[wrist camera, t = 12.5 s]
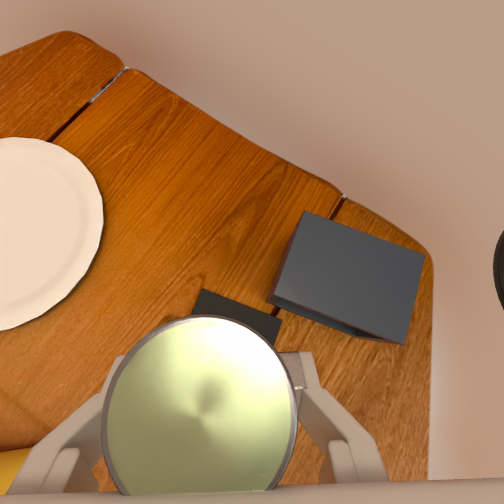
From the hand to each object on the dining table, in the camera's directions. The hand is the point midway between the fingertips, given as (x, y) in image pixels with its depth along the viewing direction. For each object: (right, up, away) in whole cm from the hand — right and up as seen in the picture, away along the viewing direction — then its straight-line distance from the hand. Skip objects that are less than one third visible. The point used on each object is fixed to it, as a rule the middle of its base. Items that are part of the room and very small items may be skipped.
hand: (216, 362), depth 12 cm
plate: (-34, +8, +30) cm, 46 cm away
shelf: (+12, -1, +29) cm, 32 cm away
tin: (0, -2, +5) cm, 5 cm away
